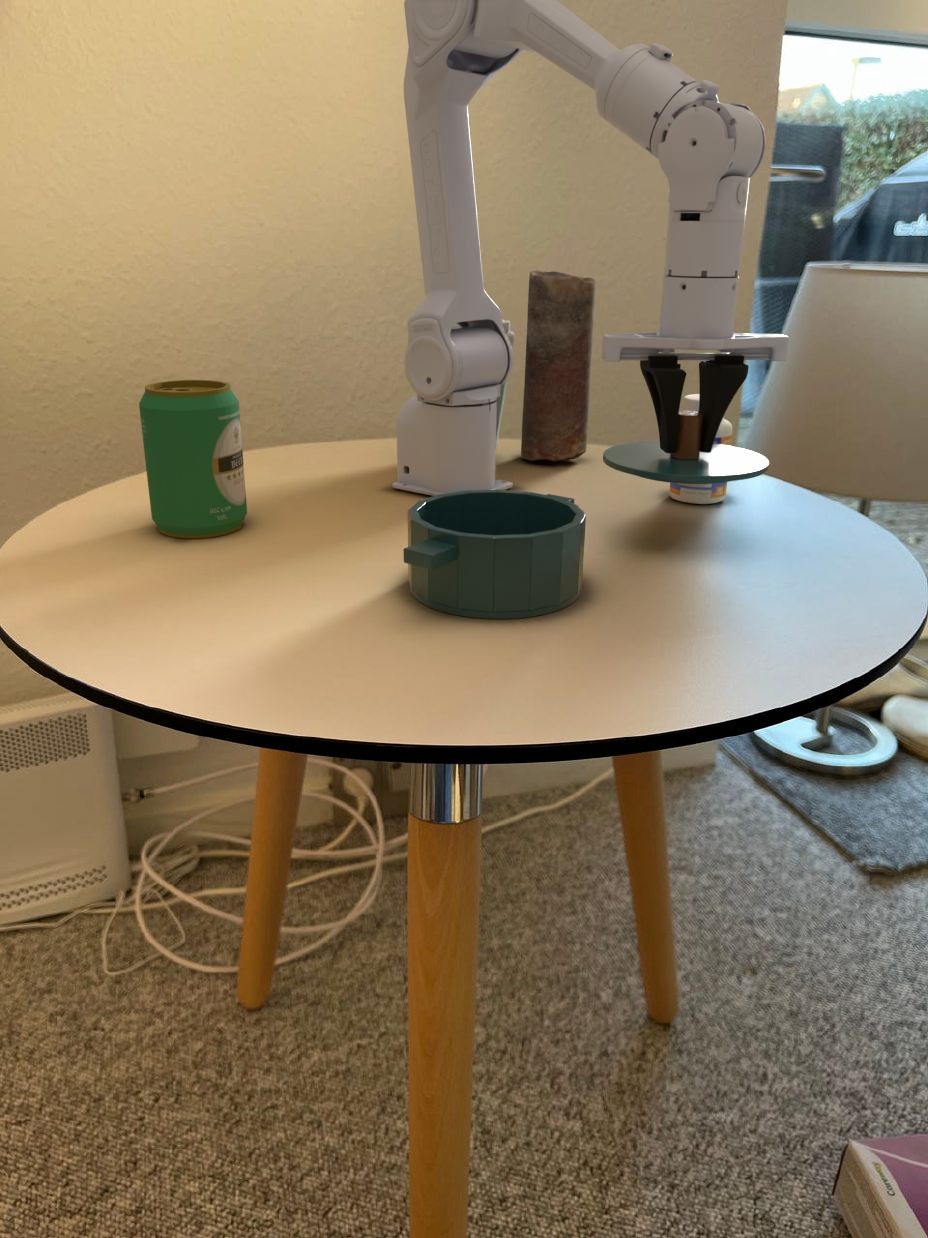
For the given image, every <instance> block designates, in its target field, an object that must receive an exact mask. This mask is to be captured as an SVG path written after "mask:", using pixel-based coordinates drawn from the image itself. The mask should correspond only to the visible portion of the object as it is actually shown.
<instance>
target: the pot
mask: <svg viewBox="0 0 928 1238" xmlns="http://www.w3.org/2000/svg"><path fill="white" fill-rule="evenodd" d="M586 520H587V514H586V512H585V511H584V510H583V509H582V508H581V507H580V506H579V505H578V504H576V503H575V498H573V497H567V496H561V495H556V494H551V493H547V494H543V493H537V492H532V491H523V490H509V489H505V490H469V491H460V492H453V493H446V494H440V495H436V496H430V497H426V498H423V499H421V500H417V501H416V502H415V503H413V505H412V506H411V507H409V508H408V509H407V546H406V547H404V548H403V563H405V564H407V569H408V571H407V573H408V574H407V575H408V576H407V577H408V582H409V591H410V594H411V596H413V598H414V599H416V600H417V602H419V603H420V604H422V605H424V606H426V607H428V608H431V609H433V610H436V611H440V612H443V613H447V614H451V615H454V616H461V617H465V618H466V617H467V618H476V619H486V620H487V619H489V620H490V619H491V620H507V619H512V620H513V619H524V618H530V617H532V618H533V617H537V616H543V615H547V614H550V613H555V612H557V611H560V610H563V609H564V608H566V607H569V606H570V605H572V604H573V603H574V602H575V601H576V600H577V599H578V598H579V596H580V594H581V586H582V585H583V577H584V574H583V572H584V556H585V541H586V540H585V539H586V524H587V523H586Z"/></svg>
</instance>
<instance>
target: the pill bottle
mask: <svg viewBox="0 0 928 1238" xmlns="http://www.w3.org/2000/svg"><path fill="white" fill-rule="evenodd" d="M682 411H697V412H699V393H694V394H693V393H692V394H687V395H685V396H684V397H683V403H682ZM725 414H727V411H726V412H725ZM732 439H733V425H732V423H731V422H730V421H729V420H727V419H725V418H724V417H723V419H722V421H721V423H720V426H719V429H718V431H717V434H716V437H715V440H714V444H722V445H728V446H732ZM727 487H728V482H724V483H714V484H681V483H670V482H669V496H670V498H672V499H673V500H676V501H678V502H682V503H687V504H697V505H710V504H716V503H720V502H722V501H724V500H725V498H726V494H727Z"/></svg>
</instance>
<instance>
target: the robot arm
mask: <svg viewBox="0 0 928 1238" xmlns="http://www.w3.org/2000/svg"><path fill="white" fill-rule="evenodd" d="M403 7H404V18H405V25H406V37H407V45H408V49H407V56H406V62H405V63H406V64H405V69H404V70H405V71H404V77H403V101H404V111H405V119H406V127H407V136H408V138H407V139H408V146H409V147H408V148H409V155H410V157H409V158H410V166H411V174H412V184H413V192H414V195H413V196H414V203H415V213H416V220H417V221H416V222H417V230H418V241H419V250H420V260H421V268H422V275H423V276H422V277H423V287H424V288H423V289H424V298H423V300H422V301H421V302H420V303H419V304H418V306H416V308H415V310H414V311H413V312H412V313H411V314H410V316H409V317H408V319H407V321H406V322H407V323H406V324H407V334H408V335H407V338H408V339H407V345H406V349H405V353H404V363H403V364H404V372H405V377H406V379H407V382H408V383H409V386H410V387H411V388H412V390H413V391H414V392H415V393H416V395H413V396H411V397H410V398H408V399H407V400H406V401H405V402H404V403H403V405H402V406H401V408H400V410H399V413H398V417H397V420H396V468H397V469H396V470H397V472H396V473H397V481H394V482H392V486H391V487H392V488H393V489H397V490H401V491H407V492H412V493H416V494H421V495H426V496H430V497H433V496H436V495H440V494H446V493H453V492H460V491H469V490H509V489H512V488H513V485H514V484H513V482H512V481H506V480H502V479H496V460H497V459H496V455H497V449H496V412H497V401H496V399H497V397H500V386H502V385H503V384H504V383H505V382H506V381H507V382H508V380H507V379H509V378H510V376H511V374H512V370H513V367H514V351H513V348H512V346H511V343H510V341H509V339H508V337H507V335H506V333H505V331H504V327H503V323H502V320H503V315H502V310H501V309H500V308H499V306H498V305H497V304H496V303H495V302H494V299H492V298H491V297H490V295H488V293H487V292H486V291H485V287H484V286H485V285H484V275H483V264H482V263H483V262H482V252H481V241H480V232H479V221H478V209H477V208H478V207H477V199H476V198H477V197H476V190H475V189H476V187H475V177H474V165H473V155H472V154H473V153H472V144H471V134H470V133H471V131H470V122H469V109H468V108H469V104H470V103H471V102H472V100H473V98H474V97H475V96H476V94H477V93H478V91H479V90H481V89H482V88H483V87H484V86H485V85H487V83H489V82H490V81H491V80H492V79H493V78H495V76H497V75H498V74H499V73H500V72H501V71H503V70H504V69H505V68H506V67H507V66H508V65H509V64H511V63H512V62H513V61H514V60H515V59H517V58H518V56H519V55H520V54H522V52H523V51H527V52H532V53H533V52H535V53H537V54H539V55H540V56H541V57H543V58H545V59H546V60H548V61H549V62H551V63H552V64H554V65H555V66H557V67H558V68H560V69H561V70H563V71H564V72H567V73H568V74H569V75H571V76H573V77H574V78H575V79H577V80H578V81H580V82H581V83H583V84H584V85H586V86H587V87H589V88H590V89H592V90H593V91H594V92H595V104H596V110H597V112H598V114H599V116H600V117H601V118H602V119H603V120H605V121H606V122H607V123H609V124H610V125H612V126H613V127H614V128H616V130H618V131H620V132H621V133H622V134H624V135H625V136H626V137H628V138H629V139H631V140H632V141H633V142H635V143H636V144H637V145H638V146H640V147H641V148H643V149H644V150H645V151H647V153H650V154H651V155H652V156H654V157H655V158H656V159H657V160H658V161H659V165H660V168H661V170H662V172H663V174H664V175H665V177H666V179H667V181H668V184H669V185H668V186H669V195H668V203H669V206H668V217H667V230H666V242H665V243H666V244H665V254H664V255H665V256H664V267H663V268H664V270H663V277H662V278H663V279H662V292H661V304H660V317H659V330H658V331H657V332H634V333H633V332H631V333H603V334H602V343H601V344H602V345H601V360H603V361H605V362H607V363H619V362H620V361H639V367H640V371H641V374H642V376H643V379H644V381H645V385H646V386H647V389H648V393H649V394H650V395H649V396H650V398H651V402H652V405H653V408H654V414H655V417H656V423H657V428H658V437H659V441H660V449H661V450H663V451H664V452H665V453H675V451H676V445H677V434H678V415H679V411H680V408H681V407H680V406H681V401H682V395H683V391H684V386H685V382H686V378H687V372H686V371H685V370H684V369H682V368H681V366H682V365H681V363H678V362H679V361H700V362H699V363H698V376H699V378H698V379H699V389H698V390H699V393H698V394H699V412H701V413H703V414H704V419H703V429H702V439H701V450H700V451H701V452H702V453H711V450H712V446H713V443H714V440H715V437H716V434H717V431H718V429H719V426H720V423H721V421H722V419H723V417H724V416H725V415H726V413H727V410H728V408H729V406H730V404H731V403H732V401H733V399H734V397H735V396H736V394H737V393H738V391H739V389H740V388H741V386H742V385H743V384H744V382H746V380H747V377H748V375H749V374H748V373H749V367H750V366H749V365H748V364H746V363H745V361H771V362H786V361H787V353H788V347H789V338H790V337H789V336H788V335H784V334H781V333H750V332H749V333H748V332H734V329H735V319H736V310H737V301H738V300H737V299H738V291H739V283H740V273H741V264H742V255H743V245H744V236H745V235H744V234H745V226H746V217H747V205H748V196H749V187H750V179H751V178H752V177H753V176H754V175H755V174H756V172H757V171H758V169H759V168H760V166H761V165H762V162H763V159H764V156H765V154H766V147H767V146H766V145H767V137H766V131H765V128H764V125H763V124H762V122H761V120H760V119H759V118H758V116H757V115H756V114H755V113H754V112H753V111H752V109H751V108H750V106H749V105H747V104H744V103H739V102H728V103H724V102H720V101H719V98H718V93H719V91H720V87H719V86H718V85H717V84H716V83H715V82H713V81H712V80H709V79H702V80H701V82H699V80H697V79H695V78H693V77H692V76H691V75H689V74H688V73H687V72H685V71H684V70H682V69H681V68H679V66H676V65H675V64H674V63H673V62H670V61H671V59H672V57H673V55H674V52H673V50H670V49H669V48H668V47H666V46H665V45H664V44H660V43H656V42H652V43H651V44H650V46H648V45H647V44H644V43H635V44H631V45H628V46H627V47H624V48H622V49H619V48H618V47H616V46H615V45H614V44H613V43H612V42H610V41H609V40H608V39H606V38H605V37H604V36H602V34H600V33H599V32H597V31H596V30H595V29H594V28H592V27H591V26H590V25H589V24H587V23H586V22H584V21H583V19H581V18H580V17H578V16H577V14H574V13H573V12H572V11H571V10H570V9H568V8H567V7H565V6H564V5H563V4H562V3H560V2H559V1H558V0H404V2H403ZM454 324H458V325H459V326H460V327H461V328H457V329H452V327H453V326H454ZM675 350H684V351H685V350H688V351H690V350H691V351H718V352H675ZM725 412H726V413H725Z"/></svg>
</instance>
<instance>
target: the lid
mask: <svg viewBox="0 0 928 1238" xmlns="http://www.w3.org/2000/svg"><path fill="white" fill-rule="evenodd" d="M703 419H704V414H703V413H701V412H697V411H683V410H679V415H678V434H677V445H676V451H675V453H665V452H664V451H663V450H661V449H660V440H641V441H631V442H626V443H621V444H617V445H616V444H615V445H613V446H610V447H608V448H607V449H605V450H604V452H603V454H602V461H603V463H604V464H605V465H606V466H608V467H609V468H611V469H613V470H615V471H618V472H621V473H625V474H627V475H631V476H636V477H639V478H643V479H647V480H651V481H656V482H663V483H669V484H670V483H681V484H714V483H724V482H727V483H729V482H736V481H743V480H749V479H753V478H754V479H755V478H756V477H757V478H758V477H759V476H763V475H764V474H766V473H767V472H768V470H769V465H770V461H769V459H768V458H767V457H766V456H764V455H762V454H760V453H758V452H755V451H753V450H750V449H746V448H742V447H737V446H733V445H731V446H728V445H722V444H714V443H713V446H712V450H711V453H702V452H701V451H700V450H701V439H702V429H703Z"/></svg>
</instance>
